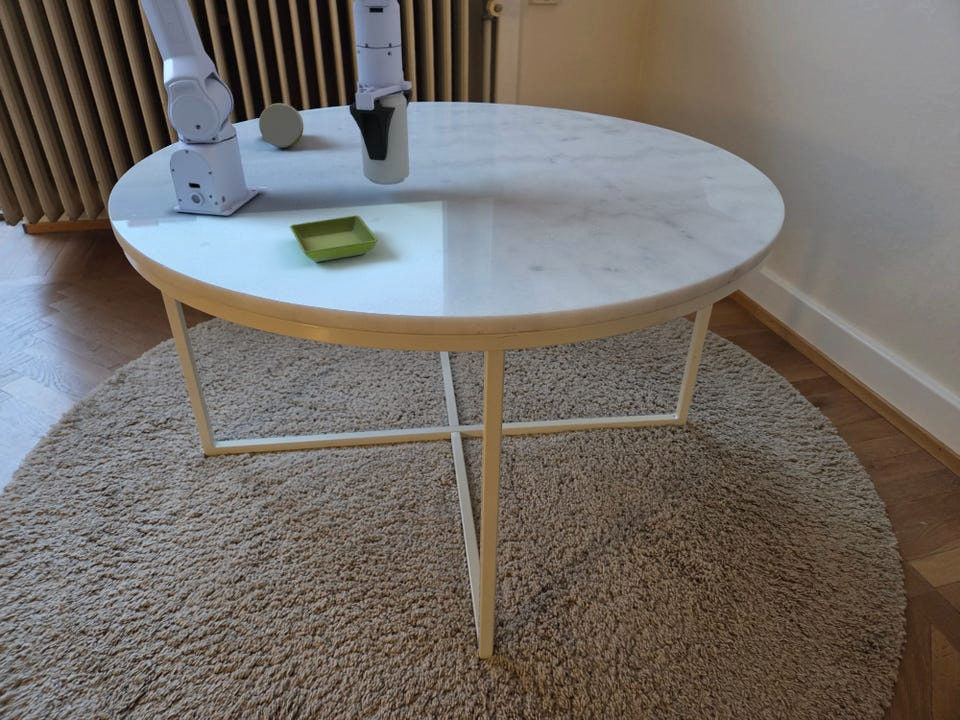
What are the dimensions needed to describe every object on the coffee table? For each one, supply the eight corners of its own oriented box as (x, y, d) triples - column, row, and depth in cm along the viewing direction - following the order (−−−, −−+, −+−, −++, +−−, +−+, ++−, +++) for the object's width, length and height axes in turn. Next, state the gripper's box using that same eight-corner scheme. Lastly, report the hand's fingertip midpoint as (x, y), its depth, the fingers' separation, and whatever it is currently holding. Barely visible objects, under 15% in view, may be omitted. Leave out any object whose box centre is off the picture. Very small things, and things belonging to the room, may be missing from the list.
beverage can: (387, 168, 99) (382, 82, 92) (419, 178, 96) (416, 89, 89) (354, 179, 95) (346, 89, 88) (386, 190, 92) (380, 97, 85)
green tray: (291, 240, 83) (288, 224, 82) (360, 229, 86) (358, 214, 85) (305, 269, 76) (303, 252, 75) (380, 256, 79) (378, 240, 78)
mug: (310, 134, 123) (311, 89, 114) (297, 172, 118) (298, 129, 109) (268, 123, 121) (266, 77, 113) (254, 162, 117) (251, 117, 108)
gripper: (392, 56, 79) (398, 170, 87) (423, 37, 91) (426, 139, 99) (335, 53, 80) (346, 166, 88) (373, 35, 92) (379, 136, 100)
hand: (385, 152), depth 93 cm, fingers closed on beverage can, 6 cm apart
